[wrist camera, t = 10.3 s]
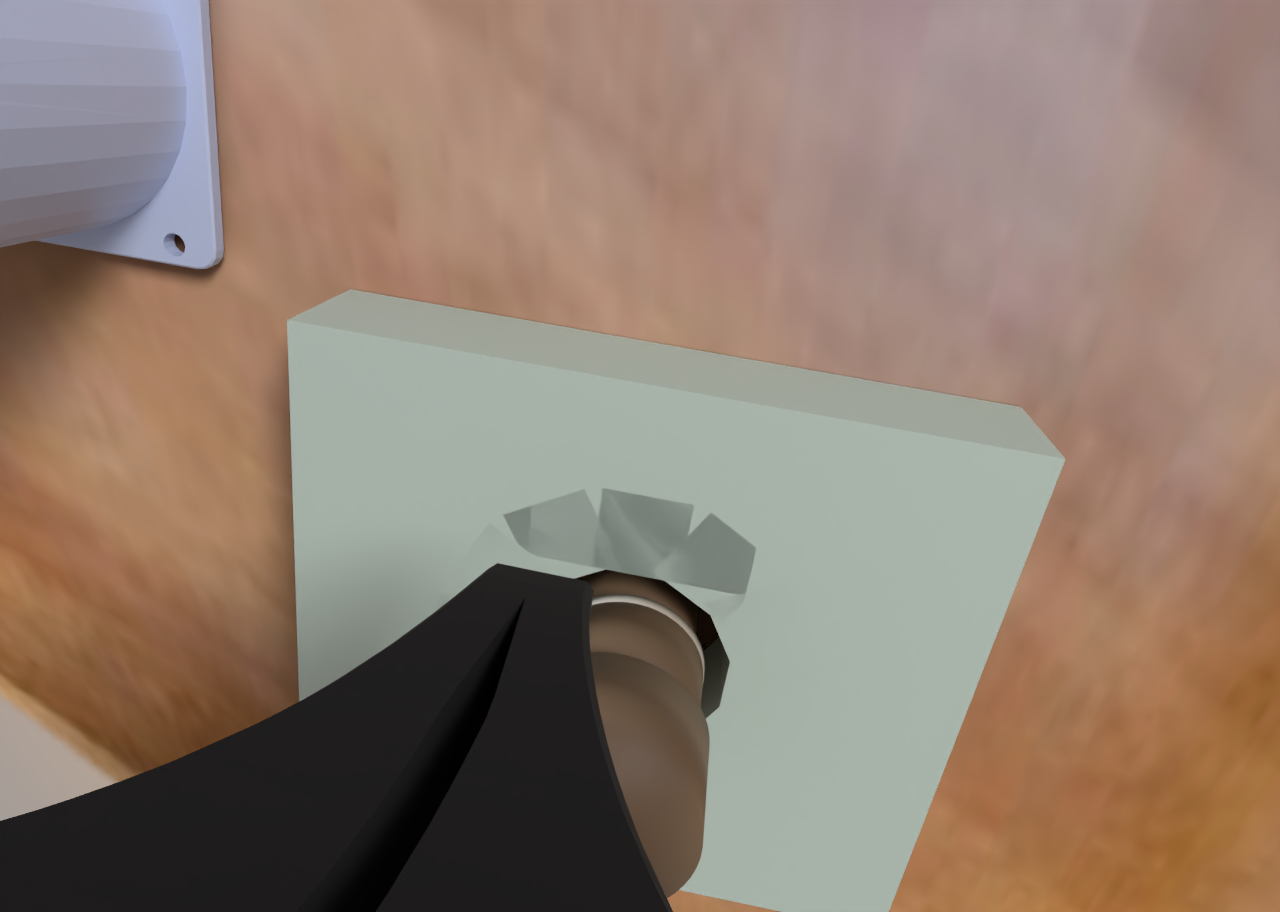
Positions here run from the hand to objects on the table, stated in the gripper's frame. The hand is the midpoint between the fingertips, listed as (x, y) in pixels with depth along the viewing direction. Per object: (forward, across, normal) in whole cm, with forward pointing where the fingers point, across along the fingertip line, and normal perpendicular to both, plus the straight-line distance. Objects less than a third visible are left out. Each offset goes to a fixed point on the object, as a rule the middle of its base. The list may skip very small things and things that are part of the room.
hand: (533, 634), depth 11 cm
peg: (+10, -1, +6) cm, 12 cm away
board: (+10, -1, +6) cm, 11 cm away
